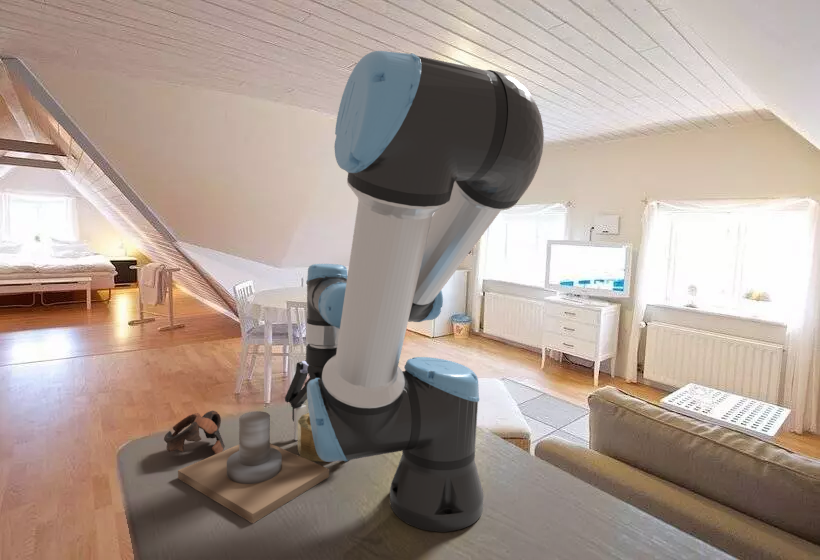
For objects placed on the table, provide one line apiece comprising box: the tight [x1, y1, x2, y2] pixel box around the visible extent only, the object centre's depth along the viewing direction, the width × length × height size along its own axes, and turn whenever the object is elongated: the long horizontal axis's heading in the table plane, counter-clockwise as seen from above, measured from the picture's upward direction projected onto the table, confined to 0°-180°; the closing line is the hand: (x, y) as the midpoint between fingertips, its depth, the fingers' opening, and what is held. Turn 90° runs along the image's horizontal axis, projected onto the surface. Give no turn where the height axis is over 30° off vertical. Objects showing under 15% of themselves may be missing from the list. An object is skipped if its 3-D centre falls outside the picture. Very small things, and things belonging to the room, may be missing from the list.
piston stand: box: [177, 410, 330, 524], centre depth 78 cm, size 20×16×11 cm
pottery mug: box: [163, 410, 225, 455], centre depth 88 cm, size 12×10×8 cm
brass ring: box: [297, 412, 326, 463], centre depth 90 cm, size 10×10×6 cm
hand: (323, 447), depth 91 cm, fingers open, 13 cm apart
